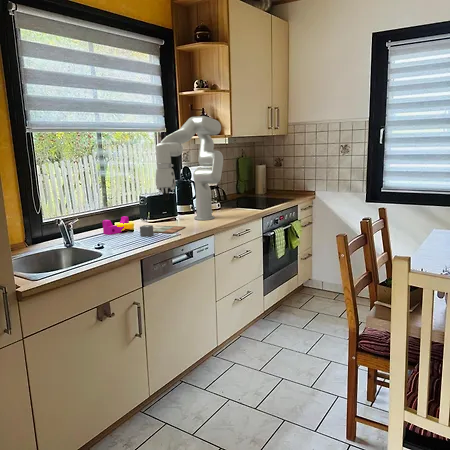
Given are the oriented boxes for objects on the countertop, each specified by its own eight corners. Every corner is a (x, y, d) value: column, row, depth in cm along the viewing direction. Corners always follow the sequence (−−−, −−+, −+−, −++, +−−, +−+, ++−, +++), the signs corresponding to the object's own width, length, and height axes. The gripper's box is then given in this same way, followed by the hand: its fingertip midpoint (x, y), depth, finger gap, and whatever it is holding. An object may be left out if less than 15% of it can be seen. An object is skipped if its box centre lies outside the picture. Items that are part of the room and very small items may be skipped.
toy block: (110, 235, 228) (109, 221, 227) (103, 233, 232) (102, 220, 230) (132, 230, 240) (131, 217, 238) (125, 228, 244) (124, 216, 242)
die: (145, 234, 227) (144, 224, 226) (153, 234, 225) (152, 225, 224) (140, 236, 222) (139, 226, 221) (148, 236, 220) (148, 227, 219)
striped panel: (157, 226, 246) (156, 225, 246) (185, 227, 240) (185, 226, 240) (141, 232, 231) (141, 231, 231) (172, 234, 224) (171, 232, 224)
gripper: (179, 165, 228) (181, 199, 232) (155, 166, 234) (157, 198, 237) (173, 166, 222) (175, 201, 225) (148, 167, 227) (150, 200, 231)
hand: (166, 200), depth 231 cm, fingers closed
